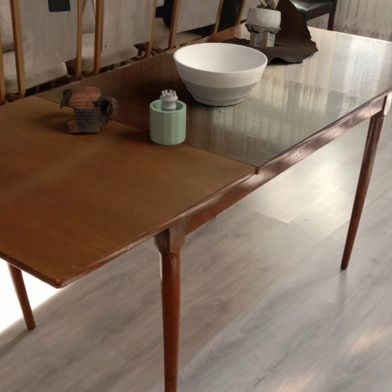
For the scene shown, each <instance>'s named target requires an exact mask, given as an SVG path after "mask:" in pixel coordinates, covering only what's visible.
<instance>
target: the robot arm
mask: <svg viewBox="0 0 392 392" xmlns="http://www.w3.org/2000/svg"><path fill="white" fill-rule="evenodd" d="M47 6H48V7H47V8H48V12H49V13H61V12H62V13H63V12H71V11H72V9H71V1H70V0H47Z"/></svg>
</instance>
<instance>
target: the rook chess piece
mask: <svg viewBox="0 0 392 392" xmlns="http://www.w3.org/2000/svg"><path fill="white" fill-rule="evenodd" d="M176 92H177V91H175V90H173V89H169V92H168V89H164V90H162V91H161V95H160V96H159V100H161V101H162V105H161V107H162V111H175V108H176V105H175V102H176V100H179V97H178V96H177V93H176Z"/></svg>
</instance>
